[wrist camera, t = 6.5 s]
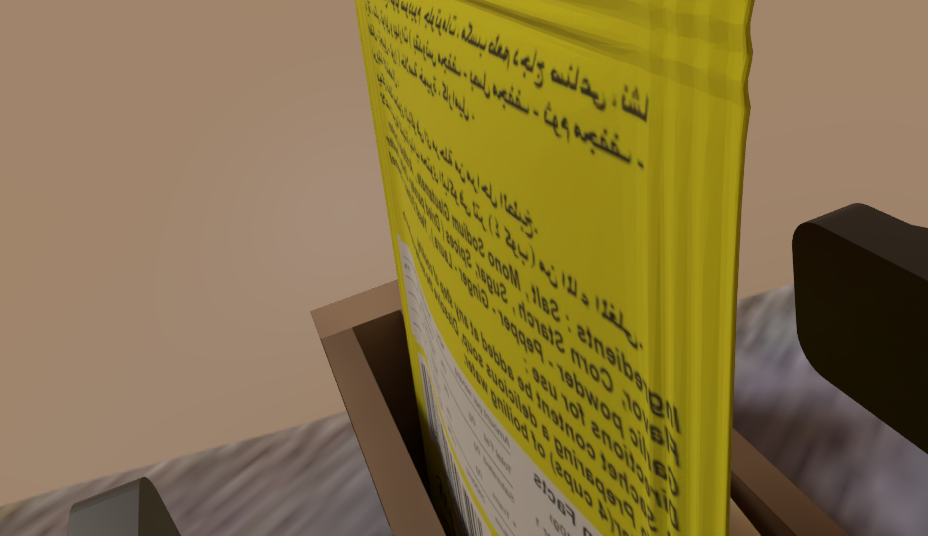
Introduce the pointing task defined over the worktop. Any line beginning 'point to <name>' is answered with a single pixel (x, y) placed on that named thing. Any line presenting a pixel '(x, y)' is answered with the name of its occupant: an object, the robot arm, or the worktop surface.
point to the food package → (567, 253)
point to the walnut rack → (400, 438)
